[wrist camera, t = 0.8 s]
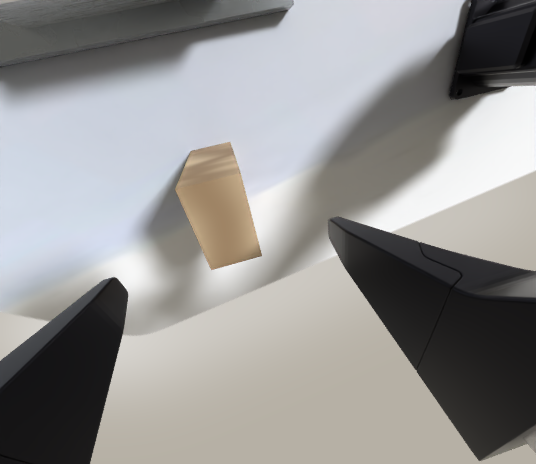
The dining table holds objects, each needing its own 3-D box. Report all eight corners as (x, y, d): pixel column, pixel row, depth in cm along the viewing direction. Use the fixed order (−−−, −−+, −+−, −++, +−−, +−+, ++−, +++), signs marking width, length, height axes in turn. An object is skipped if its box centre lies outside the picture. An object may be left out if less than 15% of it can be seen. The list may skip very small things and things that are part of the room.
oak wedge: (230, 141, 17) (240, 173, 10) (245, 200, 19) (261, 255, 13) (191, 151, 16) (174, 189, 10) (212, 209, 19) (211, 269, 12)
